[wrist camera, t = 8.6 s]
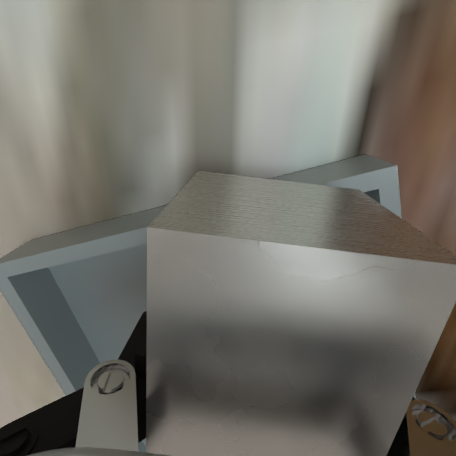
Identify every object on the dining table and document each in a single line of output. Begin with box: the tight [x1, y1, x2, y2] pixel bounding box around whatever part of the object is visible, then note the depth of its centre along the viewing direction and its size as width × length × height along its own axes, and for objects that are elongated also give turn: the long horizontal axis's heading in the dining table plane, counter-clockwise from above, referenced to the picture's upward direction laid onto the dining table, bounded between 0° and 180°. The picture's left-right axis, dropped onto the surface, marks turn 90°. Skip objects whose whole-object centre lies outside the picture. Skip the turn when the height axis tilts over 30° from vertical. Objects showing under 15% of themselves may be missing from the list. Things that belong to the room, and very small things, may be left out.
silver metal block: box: [146, 171, 456, 456], centre depth 10 cm, size 12×6×6 cm, turn 174°
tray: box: [0, 154, 416, 452], centre depth 19 cm, size 24×20×4 cm
